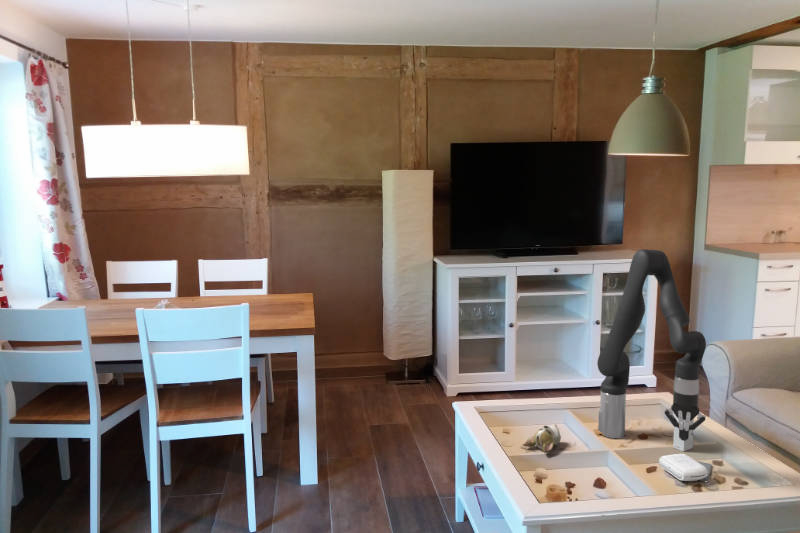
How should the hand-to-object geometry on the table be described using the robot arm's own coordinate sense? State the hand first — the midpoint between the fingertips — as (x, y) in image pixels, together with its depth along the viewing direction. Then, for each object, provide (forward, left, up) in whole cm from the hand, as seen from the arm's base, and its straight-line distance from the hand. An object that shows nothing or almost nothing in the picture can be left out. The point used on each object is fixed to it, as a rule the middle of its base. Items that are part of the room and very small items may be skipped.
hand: (683, 439), depth 196 cm
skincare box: (-2, +18, -10) cm, 21 cm away
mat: (+3, 0, -10) cm, 11 cm away
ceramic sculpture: (-45, -7, -11) cm, 47 cm away
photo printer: (-4, -1, -7) cm, 8 cm away
